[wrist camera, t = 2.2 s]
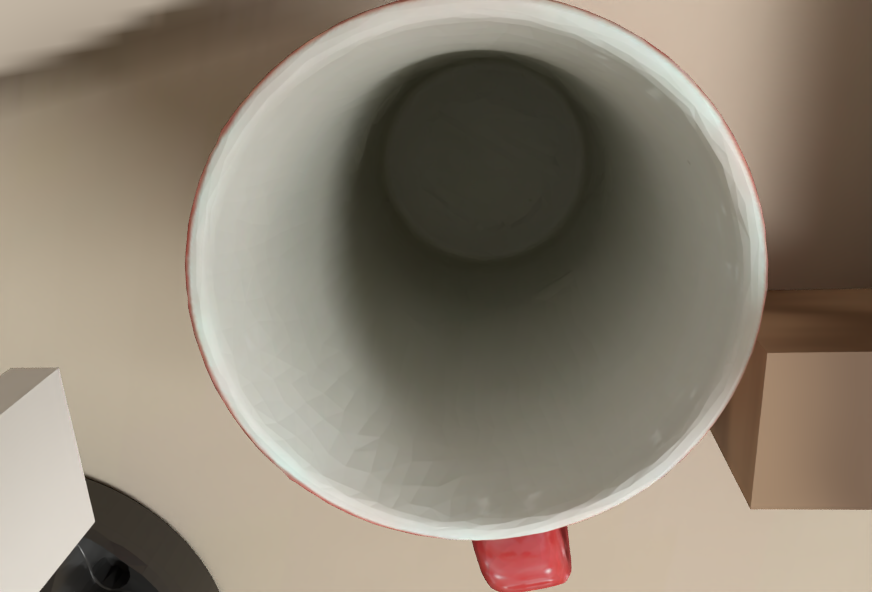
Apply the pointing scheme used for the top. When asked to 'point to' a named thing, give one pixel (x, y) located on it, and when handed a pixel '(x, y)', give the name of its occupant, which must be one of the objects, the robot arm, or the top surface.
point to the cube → (805, 404)
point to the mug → (477, 271)
